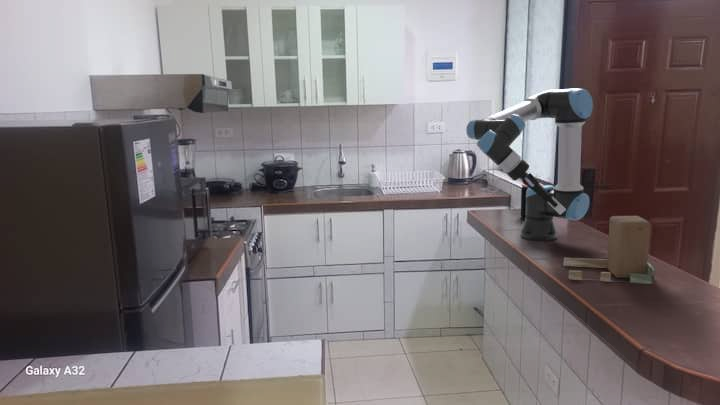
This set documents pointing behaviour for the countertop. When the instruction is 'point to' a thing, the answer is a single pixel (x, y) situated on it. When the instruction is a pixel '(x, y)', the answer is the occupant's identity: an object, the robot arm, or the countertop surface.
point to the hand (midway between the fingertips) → (562, 211)
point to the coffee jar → (524, 200)
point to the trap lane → (606, 276)
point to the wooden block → (628, 245)
